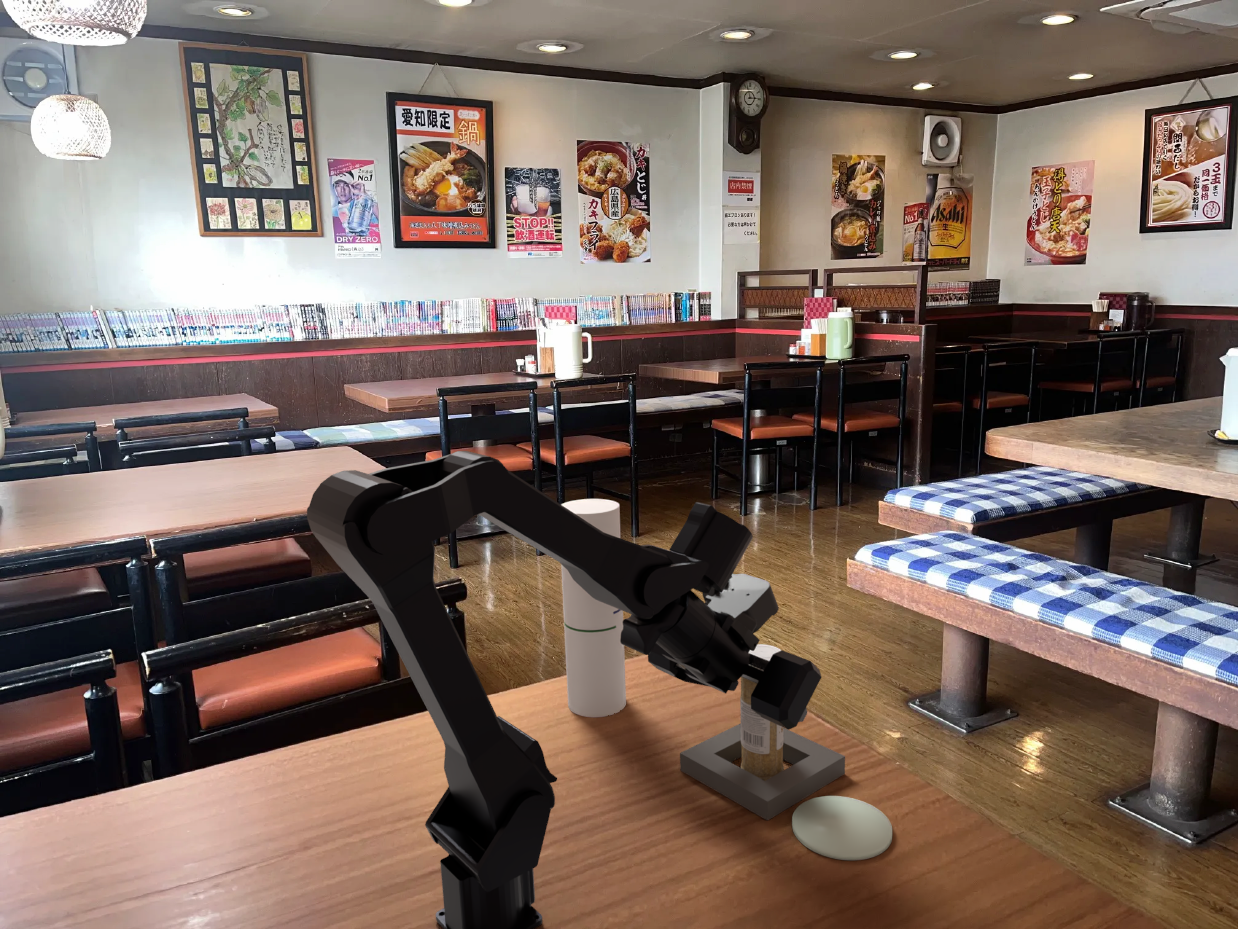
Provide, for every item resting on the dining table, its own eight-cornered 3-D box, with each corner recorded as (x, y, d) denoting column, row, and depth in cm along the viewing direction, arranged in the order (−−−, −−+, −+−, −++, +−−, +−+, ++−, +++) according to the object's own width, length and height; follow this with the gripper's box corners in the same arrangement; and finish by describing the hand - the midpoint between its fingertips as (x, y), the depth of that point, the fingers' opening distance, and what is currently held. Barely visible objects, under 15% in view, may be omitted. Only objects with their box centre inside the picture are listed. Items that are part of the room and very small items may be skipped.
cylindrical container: (636, 697, 109) (630, 502, 104) (605, 722, 103) (597, 516, 98) (589, 685, 113) (581, 496, 108) (556, 708, 107) (546, 509, 102)
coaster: (852, 874, 75) (852, 868, 75) (772, 827, 82) (772, 821, 82) (911, 831, 81) (911, 825, 81) (831, 790, 88) (831, 785, 88)
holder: (767, 820, 83) (767, 801, 83) (680, 770, 92) (679, 753, 92) (844, 773, 91) (845, 756, 90) (756, 731, 100) (756, 715, 99)
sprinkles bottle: (793, 774, 91) (794, 653, 88) (760, 789, 88) (760, 664, 86) (762, 756, 95) (762, 638, 92) (730, 769, 92) (729, 649, 90)
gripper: (808, 580, 77) (879, 660, 86) (664, 538, 91) (738, 611, 100) (748, 692, 74) (829, 763, 83) (608, 631, 88) (690, 697, 97)
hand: (768, 701), depth 91 cm, fingers open, 9 cm apart
